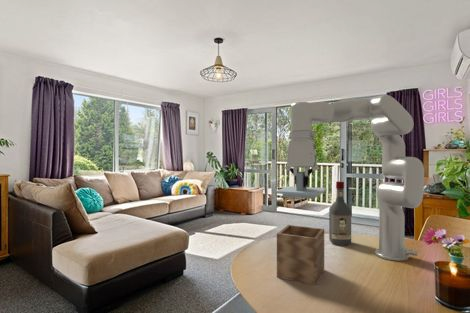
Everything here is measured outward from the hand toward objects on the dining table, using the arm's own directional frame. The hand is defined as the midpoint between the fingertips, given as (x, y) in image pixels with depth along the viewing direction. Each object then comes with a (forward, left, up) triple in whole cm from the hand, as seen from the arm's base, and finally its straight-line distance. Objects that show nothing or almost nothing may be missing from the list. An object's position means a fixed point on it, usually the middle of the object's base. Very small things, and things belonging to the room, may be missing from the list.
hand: (301, 186), depth 104 cm
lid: (0, 0, -3) cm, 3 cm away
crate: (0, 0, -32) cm, 32 cm away
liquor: (-8, -44, -32) cm, 55 cm away
